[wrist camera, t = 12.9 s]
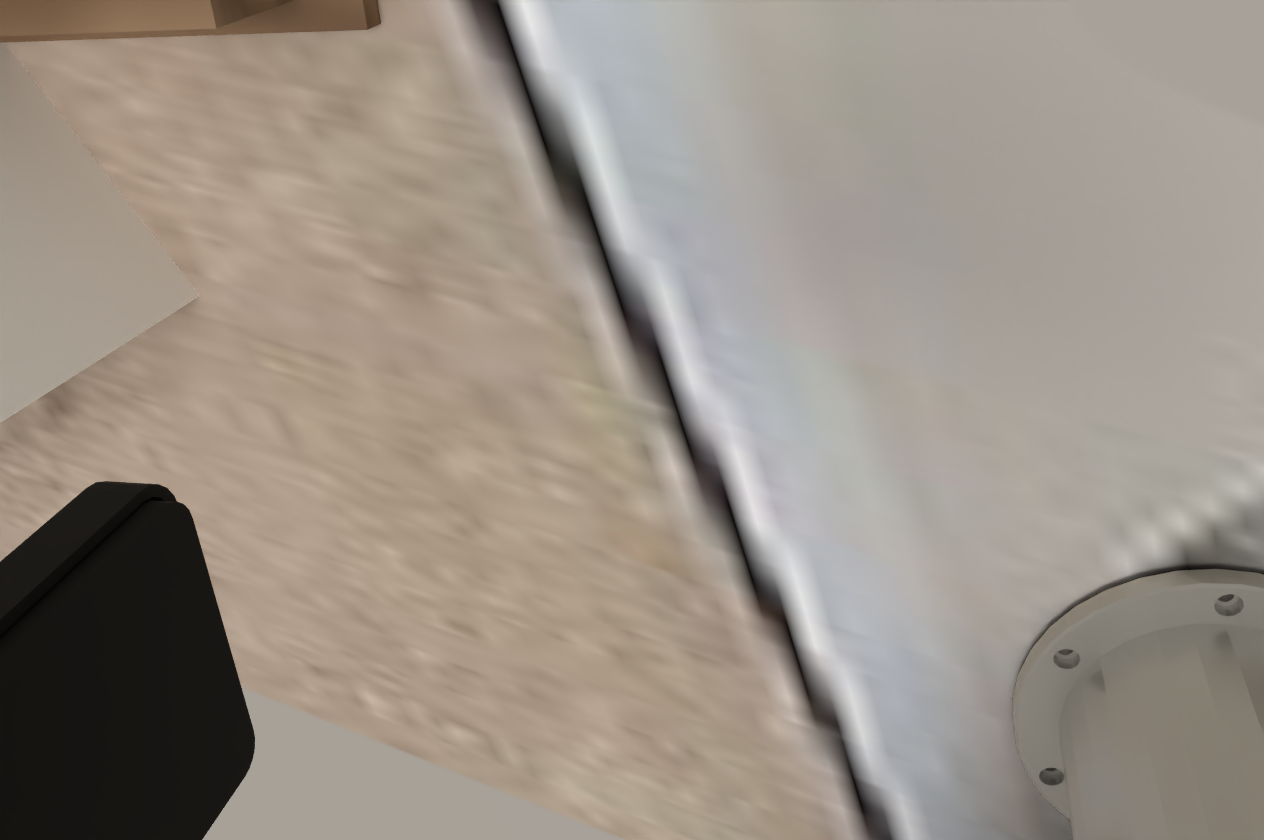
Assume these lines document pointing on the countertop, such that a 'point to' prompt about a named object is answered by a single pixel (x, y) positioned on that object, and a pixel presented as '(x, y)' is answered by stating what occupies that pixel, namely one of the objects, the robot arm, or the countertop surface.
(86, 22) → the wooden open tray
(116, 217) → the milk
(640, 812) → the countertop surface
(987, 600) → the countertop surface
